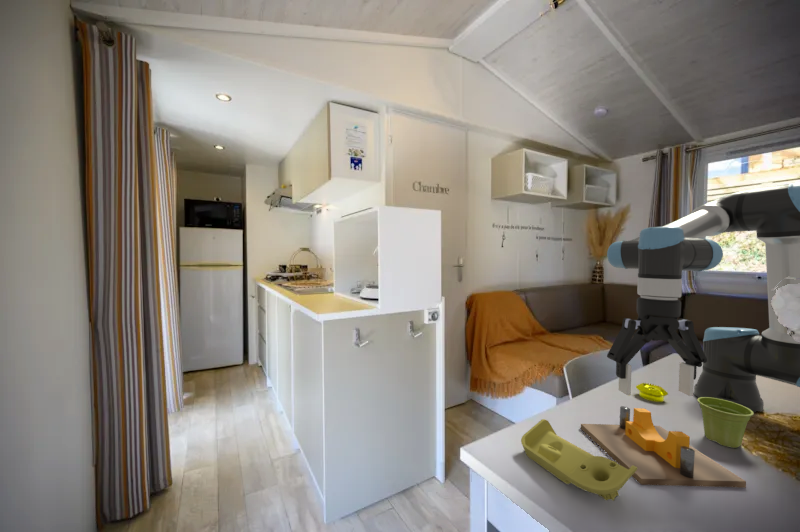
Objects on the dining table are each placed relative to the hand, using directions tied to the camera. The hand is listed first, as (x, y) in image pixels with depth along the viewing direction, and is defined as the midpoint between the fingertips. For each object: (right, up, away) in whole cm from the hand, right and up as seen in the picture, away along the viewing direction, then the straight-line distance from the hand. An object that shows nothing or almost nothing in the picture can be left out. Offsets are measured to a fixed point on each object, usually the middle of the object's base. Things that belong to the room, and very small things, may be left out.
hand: (655, 393), depth 70 cm
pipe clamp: (-1, -13, 0) cm, 13 cm away
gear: (+23, -14, +30) cm, 41 cm away
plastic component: (-22, -14, -7) cm, 27 cm away
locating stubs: (-1, -12, 0) cm, 12 cm away
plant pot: (+21, -14, +6) cm, 26 cm away
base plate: (-1, -14, 0) cm, 14 cm away
